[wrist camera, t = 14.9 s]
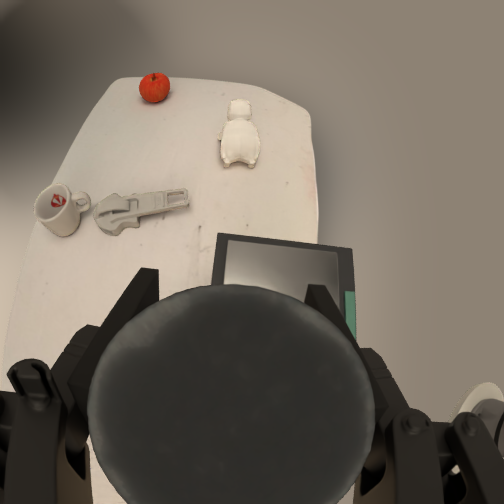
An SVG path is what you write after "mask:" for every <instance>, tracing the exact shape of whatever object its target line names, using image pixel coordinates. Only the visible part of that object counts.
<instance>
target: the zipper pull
mask: <svg viewBox="0 0 504 504" xmlns="http://www.w3.org/2000/svg"><path fill="white" fill-rule="evenodd" d="M177 194H184V199H185V202H184V203H180V204H174V205H168V196H169V195H177ZM187 207H189V199H188V191H187V189H176V190H167V191H159V192H151V193H144V194H132V195H129V196H123V197H121V196H119V195H118V194H116V193H113V194H111V195H109V196H107V197H106V198H105V199H103V200H102V201H101V202H100V203H99V204H97V205H96V208H95V211H94V215H93V216H94V220H95V222H96V223H97V224H98V226H99V228H100V229H101V230H102V231H103V232H104V233H106V234H108V235H111V236H118V235H119V234H120V233H121V232H122V231H123V230H124V229H125V228H139V227H140V216H143V215H148V214H154V213H159V212H164V211H170V210H176V209H181V208H187Z"/></svg>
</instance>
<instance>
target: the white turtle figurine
mask: <svg viewBox="0 0 504 504" xmlns="http://www.w3.org/2000/svg"><path fill="white" fill-rule="evenodd" d="M251 116H252V114H251V105H250V103H249V102H248V101H246V100H243V99H236V100H232V101H231V102H230V104H229V106H228V116H227V118H228V119H229V120H230V121H228V122H226V123H224V125H223V131H222V132H220V133H218V140H221V150H220V156H221V158H222V160H223V161H224V167H229V165H230V163H233V162H236V161H242V162H245V163H248V166H249V168H253V167H254V164H255V161H256V160H257V158H258V155H259V149H260V139H259V135H258V131H257V127H256V125H255V124H254V123H252V122H250V121H248V120H250V119H251Z"/></svg>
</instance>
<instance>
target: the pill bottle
mask: <svg viewBox="0 0 504 504" xmlns="http://www.w3.org/2000/svg"><path fill="white" fill-rule="evenodd" d="M87 415H88V426H89V427H88V430H89V434H90V438H91V442H92V446H93V450H94V452H95V455H96V458H97V461H98V463H99V465H100V466H101V468H102V470H103V472H104V473H105V475H106V477H107V478H108V480H109V482H110V483H111V484H112V485H113V486H114V488H115V489H116V491H117V493H118V494H119V495H120V496H121V497H122V498H123V499H124V500H125V501H126V503H127V504H337V503H338V502H339V500H341V499H342V498H343V497H344V495H345V494H346V493H347V492H348V491H349V490H350V488H351V486H352V485H353V484H354V483H355V481H356V479H357V478H358V476H359V474H360V473H361V471H362V468H363V466H364V463H365V462H366V459H367V457H368V454H369V452H370V451H371V444H372V441H373V435H374V430H375V403H374V398H373V390H372V387H371V383H370V380H369V376H368V373H367V371H366V369H365V366H364V364H363V362H362V360H361V358H360V356H359V355H358V354H357V352H356V350H355V349H354V347H353V345H352V343H351V342H350V341H349V340H348V338H347V337H346V336H345V335H344V334H343V333H342V332H341V331H340V329H339V328H338V327H337V326H336V325H334V324H333V323H332V322H331V321H330V320H329V319H327V318H326V317H325V316H324V315H322V314H321V313H320V312H318V311H317V310H315V309H314V308H312V307H310V306H308V305H307V304H305V303H303V302H301V301H300V300H298V299H296V298H294V297H291V296H289V295H286V294H282V293H279V292H276V291H273V290H269V289H265V288H262V287H258V286H249V285H241V284H217V285H209V286H199V287H196V288H191V289H187V290H184V291H181V292H177V293H175V294H173V295H171V296H169V297H166V298H164V299H162V300H160V301H157V302H156V303H154V304H152V305H150V306H148V307H147V308H145V309H144V310H143V311H141V312H140V313H138V314H137V315H136V316H134V317H133V318H132V319H131V320H130V321H128V322H127V323H126V324H125V325H124V326H123V327H122V329H121V330H120V331H119V332H117V333H116V335H115V336H114V337H113V339H112V340H111V341H110V342H109V343H108V345H107V347H106V349H105V351H104V352H103V353H102V355H101V358H100V360H99V362H98V364H97V366H96V369H95V372H94V375H93V377H92V382H91V385H90V387H89V394H88V401H87Z"/></svg>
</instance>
